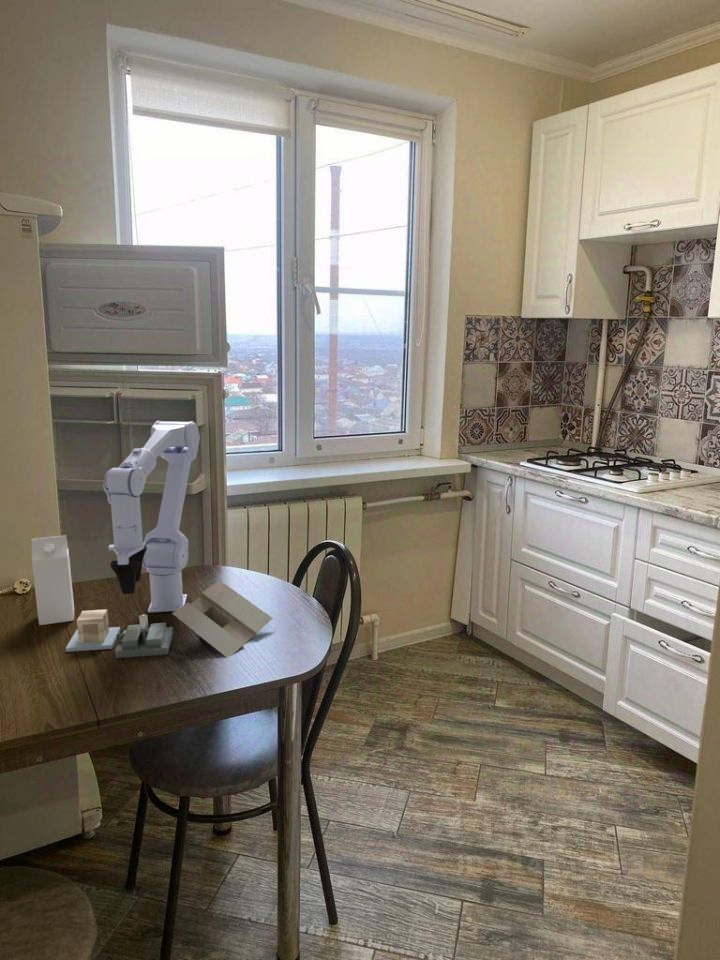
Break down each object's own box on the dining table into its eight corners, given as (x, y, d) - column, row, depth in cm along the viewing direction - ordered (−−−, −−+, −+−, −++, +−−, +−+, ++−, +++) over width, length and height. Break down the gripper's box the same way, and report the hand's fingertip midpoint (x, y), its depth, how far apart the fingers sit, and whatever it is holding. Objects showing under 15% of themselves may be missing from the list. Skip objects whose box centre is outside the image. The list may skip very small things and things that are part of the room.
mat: (76, 633, 151) (76, 629, 150) (120, 630, 152) (120, 626, 152) (66, 651, 142) (65, 648, 142) (112, 648, 143) (111, 645, 143)
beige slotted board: (257, 637, 157) (211, 590, 159) (275, 617, 152) (227, 568, 154) (210, 679, 144) (160, 627, 146) (228, 658, 139) (176, 604, 141)
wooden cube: (84, 633, 149) (82, 610, 148) (108, 631, 149) (107, 609, 148) (79, 643, 144) (76, 620, 143) (104, 641, 145) (102, 618, 144)
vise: (122, 636, 149) (120, 608, 147) (173, 633, 150) (171, 605, 149) (113, 658, 139) (110, 627, 138) (167, 654, 140) (165, 624, 139)
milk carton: (41, 614, 161) (32, 534, 157) (74, 609, 163) (66, 531, 159) (39, 626, 154) (29, 543, 150) (73, 621, 157) (65, 539, 153)
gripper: (113, 516, 152) (118, 576, 155) (99, 535, 138) (104, 600, 141) (147, 515, 153) (151, 574, 156) (136, 533, 139) (141, 598, 142)
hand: (131, 586), depth 148 cm, fingers open, 7 cm apart
